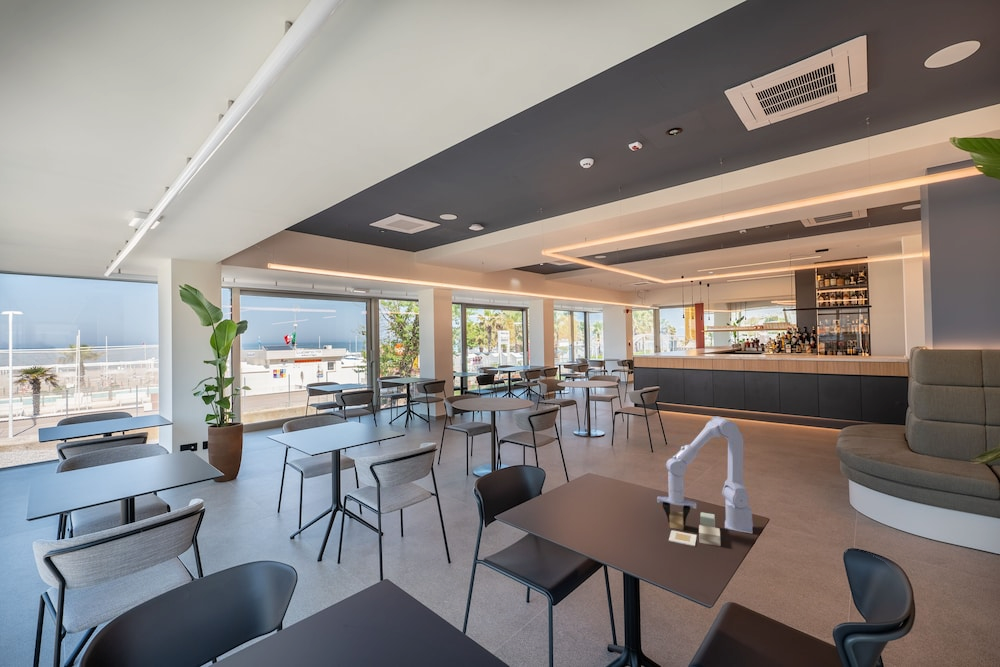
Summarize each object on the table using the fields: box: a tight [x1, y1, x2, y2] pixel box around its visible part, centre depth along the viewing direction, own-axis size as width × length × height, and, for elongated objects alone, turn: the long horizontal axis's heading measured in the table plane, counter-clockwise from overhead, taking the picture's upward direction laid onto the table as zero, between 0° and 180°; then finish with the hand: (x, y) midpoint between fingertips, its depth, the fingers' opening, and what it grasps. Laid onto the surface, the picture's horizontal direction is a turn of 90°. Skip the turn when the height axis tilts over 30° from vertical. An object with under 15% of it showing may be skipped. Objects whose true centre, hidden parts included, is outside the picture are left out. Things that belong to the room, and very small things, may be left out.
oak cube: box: [669, 510, 685, 531], centre depth 166 cm, size 5×5×5 cm
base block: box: [698, 524, 721, 547], centre depth 155 cm, size 7×7×4 cm
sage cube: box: [699, 511, 716, 528], centre depth 165 cm, size 5×5×5 cm
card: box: [668, 530, 697, 547], centre depth 156 cm, size 9×9×1 cm
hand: (676, 522), depth 166 cm, fingers closed on oak cube, 5 cm apart
